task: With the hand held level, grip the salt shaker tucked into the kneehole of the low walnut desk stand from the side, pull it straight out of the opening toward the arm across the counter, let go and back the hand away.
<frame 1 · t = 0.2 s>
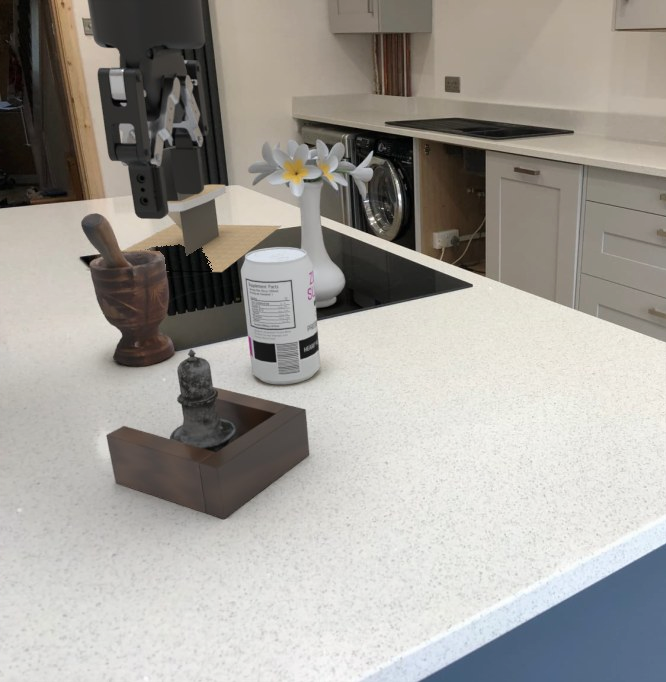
hand: (172, 204, 58), 26 cm above the countertop, tool pointing down, fingers open, 8 cm apart
salt shaker: (208, 467, 70), resting in desk stand
architectural model: (194, 246, 151), on the countertop
flower vase: (320, 302, 117), on the countertop
mortar and pestle: (143, 362, 94), on the countertop
supplement can: (287, 374, 91), on the countertop
desk stand: (207, 465, 70), on the countertop
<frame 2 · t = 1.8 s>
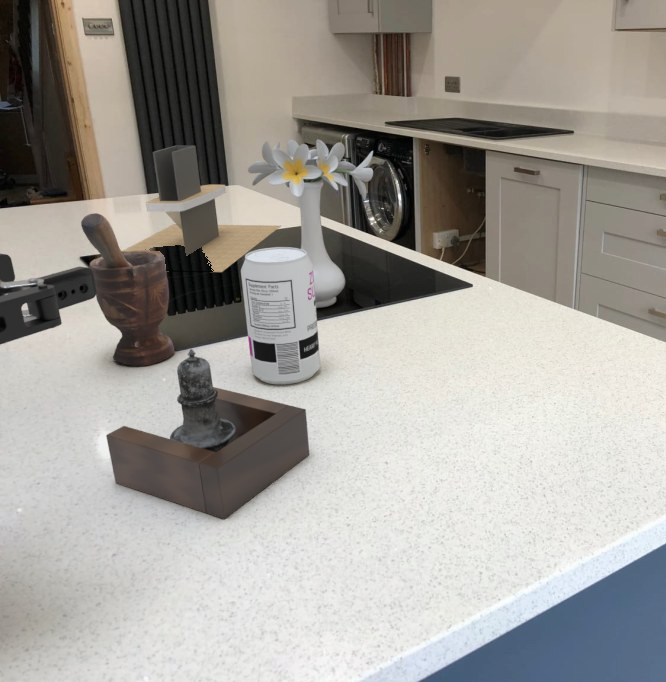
hand: (49, 273, 52), 22 cm above the countertop, tool horizontal, fingers open, 8 cm apart
nothing on the countertop moved.
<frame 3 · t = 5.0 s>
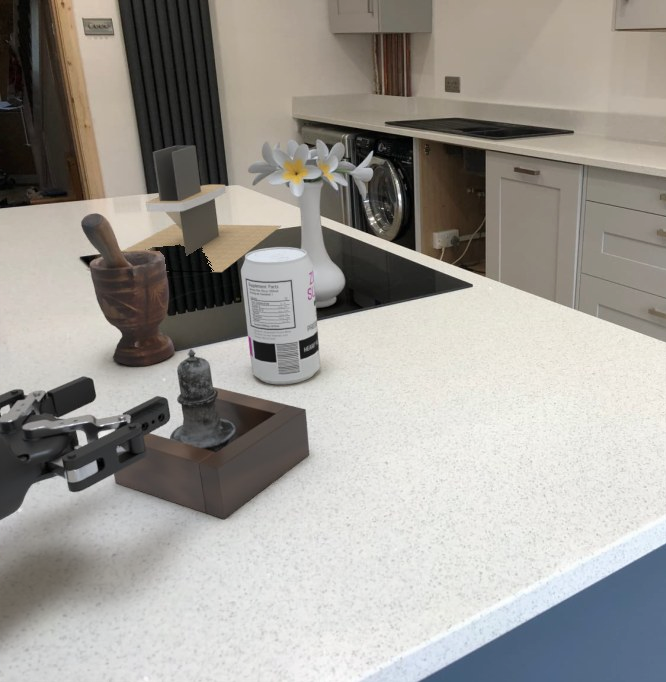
hand: (127, 396, 60), 10 cm above the countertop, tool horizontal, fingers open, 8 cm apart
nothing on the countertop moved.
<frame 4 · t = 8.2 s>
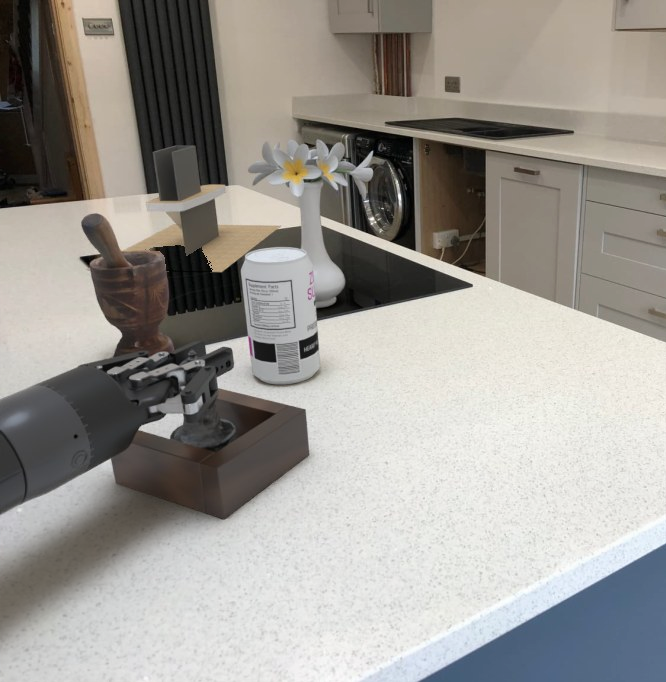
hand: (215, 353, 69), 11 cm above the countertop, tool horizontal, fingers closed on salt shaker, 2 cm apart
salt shaker: (208, 467, 70), resting in desk stand, touching gripper
everything else where it was.
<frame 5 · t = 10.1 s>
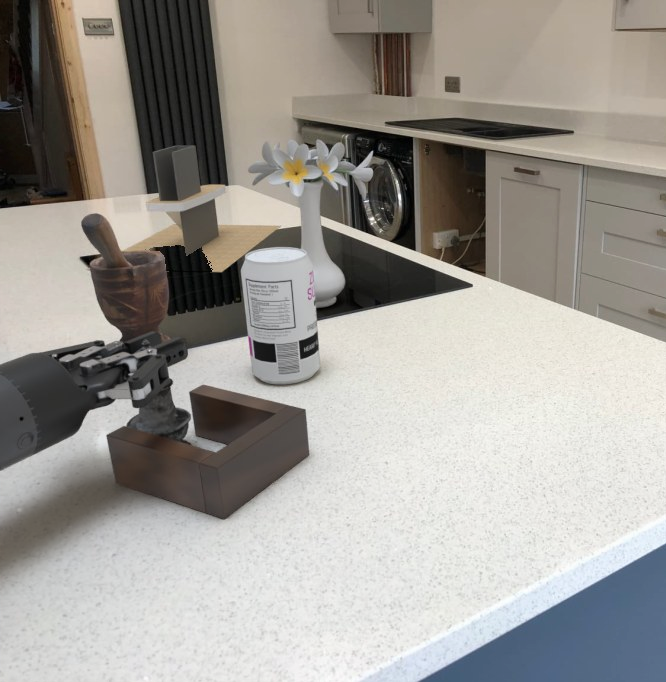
hand: (170, 343, 71), 11 cm above the countertop, tool horizontal, fingers closed on salt shaker, 2 cm apart
salt shaker: (164, 454, 72), on the countertop, touching gripper
everything else where it was.
when the fingers open (11 cm above the countertop, at t = 12.0 s): salt shaker stays where it is, on the countertop.
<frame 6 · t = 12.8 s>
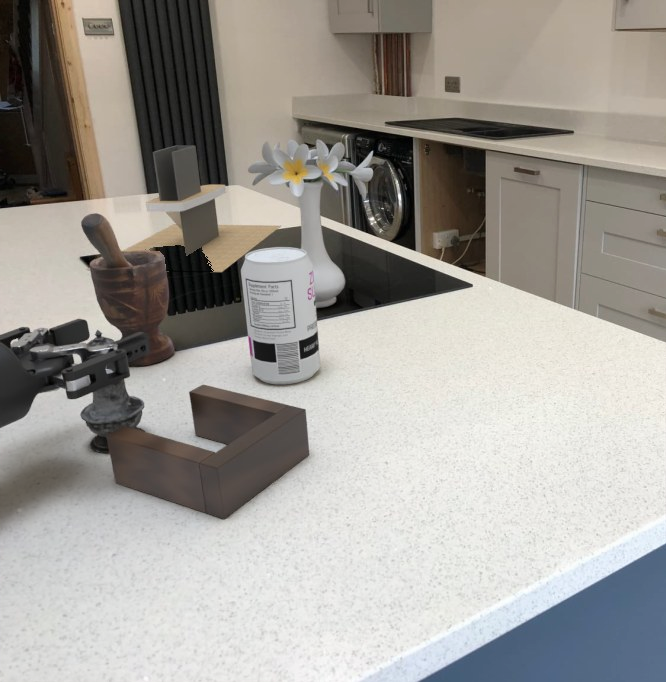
hand: (115, 334, 73), 11 cm above the countertop, tool horizontal, fingers open, 8 cm apart
salt shaker: (119, 441, 75), on the countertop
everything else where it was.
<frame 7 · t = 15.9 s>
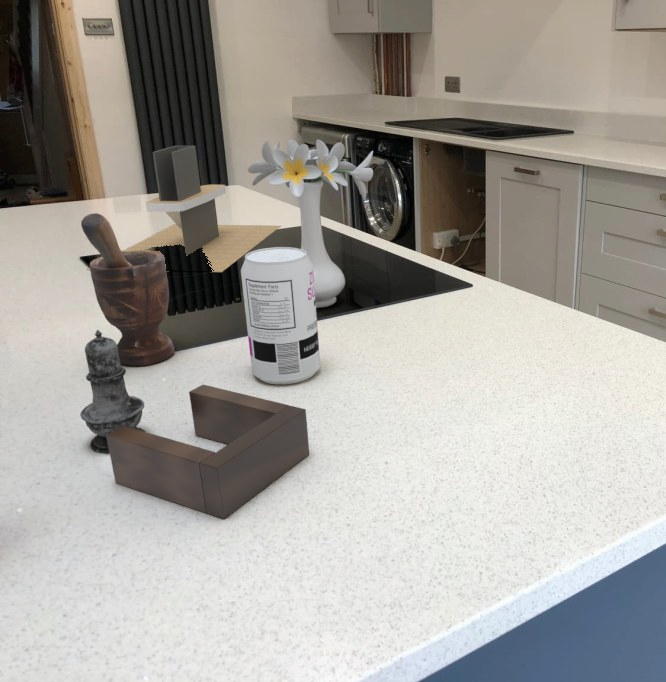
nothing on the countertop moved.
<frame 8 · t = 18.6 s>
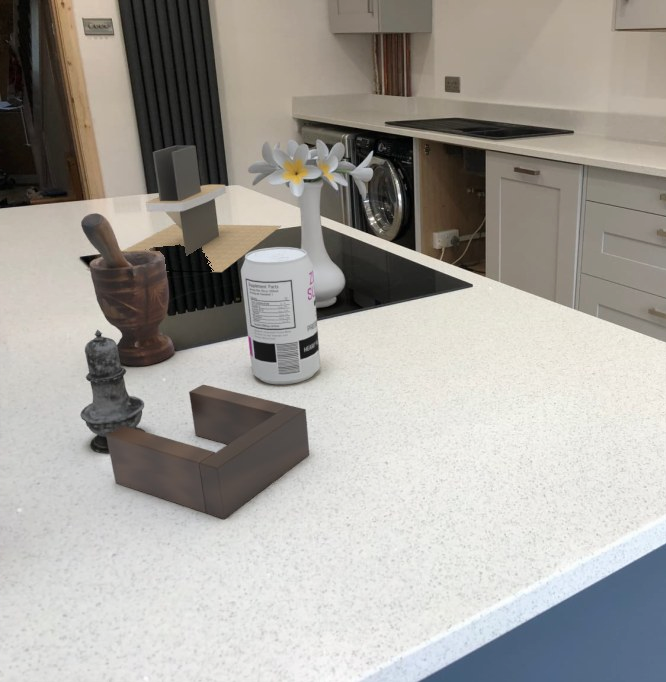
nothing on the countertop moved.
at the end: salt shaker inside the target area on the countertop beside the desk stand (0.5 cm from its centre), on the countertop; salt shaker tilted 0°; the gripper is holding nothing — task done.
